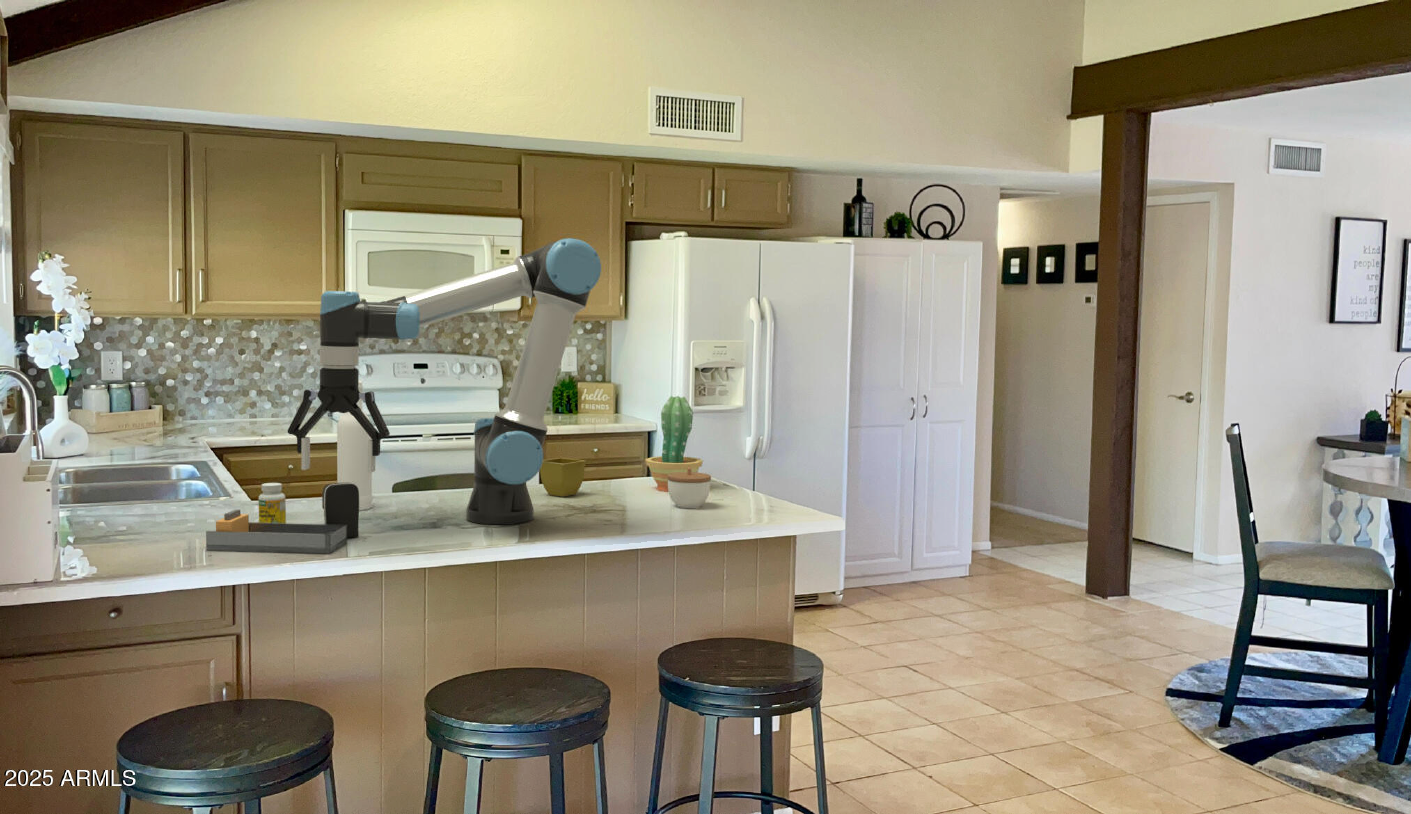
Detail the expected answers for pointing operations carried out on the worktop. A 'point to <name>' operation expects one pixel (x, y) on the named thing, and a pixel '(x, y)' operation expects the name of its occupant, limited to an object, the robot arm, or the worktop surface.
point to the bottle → (354, 455)
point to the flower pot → (562, 476)
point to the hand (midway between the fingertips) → (338, 470)
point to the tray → (280, 538)
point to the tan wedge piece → (233, 522)
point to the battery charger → (342, 506)
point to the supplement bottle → (272, 504)
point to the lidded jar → (688, 488)
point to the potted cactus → (673, 442)
